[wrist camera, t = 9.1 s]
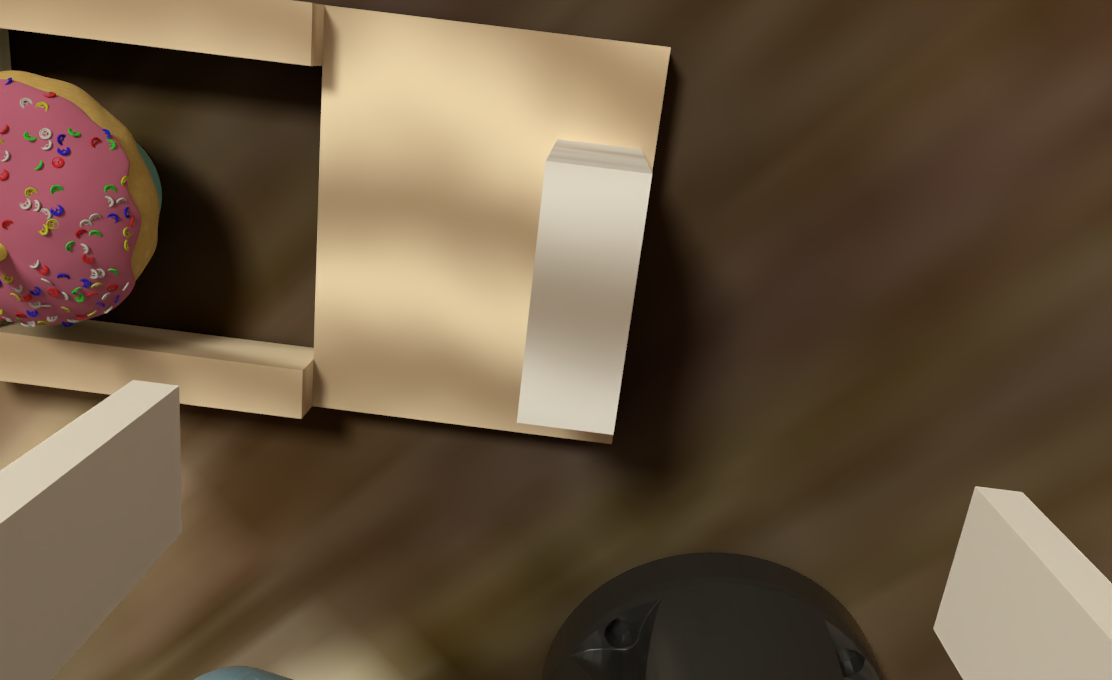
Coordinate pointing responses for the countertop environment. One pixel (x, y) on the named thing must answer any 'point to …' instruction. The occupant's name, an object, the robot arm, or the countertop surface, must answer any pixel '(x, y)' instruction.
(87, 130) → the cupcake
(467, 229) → the wooden tray
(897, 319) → the countertop surface
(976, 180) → the countertop surface
